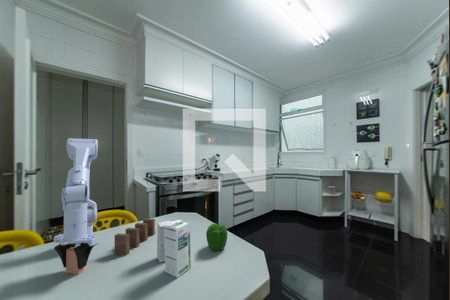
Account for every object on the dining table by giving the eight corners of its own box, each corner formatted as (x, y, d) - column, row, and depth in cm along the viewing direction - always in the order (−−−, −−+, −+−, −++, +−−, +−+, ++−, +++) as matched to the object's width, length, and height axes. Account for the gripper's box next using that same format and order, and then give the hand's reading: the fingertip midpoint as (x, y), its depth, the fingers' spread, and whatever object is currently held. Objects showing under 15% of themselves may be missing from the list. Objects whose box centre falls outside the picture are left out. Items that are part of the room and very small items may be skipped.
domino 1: (79, 274, 54) (79, 251, 55) (65, 272, 55) (66, 249, 56) (84, 270, 56) (84, 248, 56) (71, 269, 57) (71, 247, 57)
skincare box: (159, 263, 59) (159, 226, 60) (156, 257, 63) (156, 222, 63) (177, 257, 63) (177, 222, 63) (173, 251, 66) (173, 219, 67)
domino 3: (136, 247, 70) (136, 230, 70) (125, 246, 71) (125, 229, 71) (139, 245, 71) (139, 228, 72) (128, 245, 72) (128, 227, 73)
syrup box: (177, 278, 52) (177, 228, 52) (164, 271, 55) (163, 224, 55) (191, 267, 56) (190, 222, 57) (178, 262, 60) (177, 218, 60)
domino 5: (152, 235, 81) (152, 220, 81) (143, 234, 81) (143, 219, 82) (154, 234, 82) (154, 218, 82) (145, 233, 83) (145, 218, 83)
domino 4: (145, 241, 75) (145, 224, 75) (134, 240, 76) (134, 224, 76) (147, 239, 77) (147, 223, 77) (137, 238, 78) (137, 222, 78)
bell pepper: (221, 241, 74) (221, 217, 75) (231, 250, 67) (230, 223, 67) (202, 245, 70) (202, 220, 71) (210, 256, 63) (210, 227, 64)
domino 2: (126, 255, 64) (126, 236, 65) (114, 254, 65) (114, 235, 66) (129, 253, 66) (129, 234, 66) (117, 252, 67) (118, 233, 67)
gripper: (42, 226, 54) (41, 272, 53) (82, 229, 51) (81, 277, 50) (67, 218, 61) (66, 258, 60) (103, 220, 58) (103, 262, 57)
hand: (75, 266), depth 56 cm, fingers closed on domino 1, 5 cm apart
